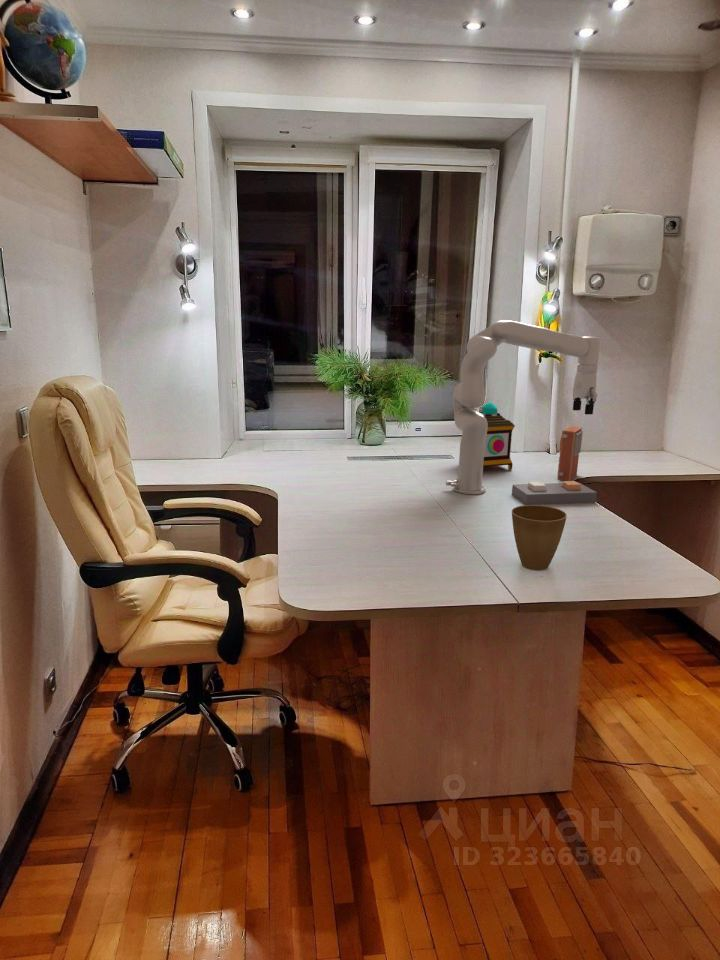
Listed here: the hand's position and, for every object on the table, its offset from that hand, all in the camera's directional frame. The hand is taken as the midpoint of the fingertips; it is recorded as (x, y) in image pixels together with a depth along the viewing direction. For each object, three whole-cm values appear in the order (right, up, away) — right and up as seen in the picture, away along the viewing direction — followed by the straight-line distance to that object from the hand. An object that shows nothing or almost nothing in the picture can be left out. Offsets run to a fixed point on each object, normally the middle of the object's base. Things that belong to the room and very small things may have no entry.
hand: (582, 412), depth 261 cm
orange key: (-7, -31, -7) cm, 33 cm away
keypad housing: (-14, -34, -8) cm, 38 cm away
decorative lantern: (-31, -22, +38) cm, 54 cm away
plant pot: (-39, -52, -74) cm, 98 cm away
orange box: (+2, -26, +24) cm, 36 cm away
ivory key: (-21, -31, -10) cm, 39 cm away
